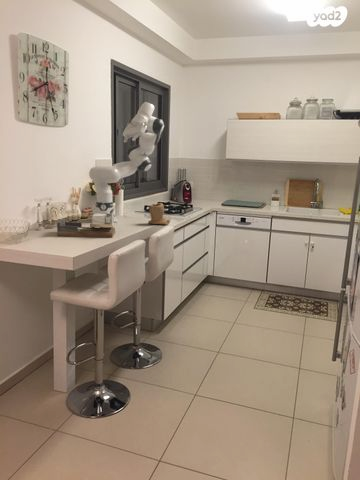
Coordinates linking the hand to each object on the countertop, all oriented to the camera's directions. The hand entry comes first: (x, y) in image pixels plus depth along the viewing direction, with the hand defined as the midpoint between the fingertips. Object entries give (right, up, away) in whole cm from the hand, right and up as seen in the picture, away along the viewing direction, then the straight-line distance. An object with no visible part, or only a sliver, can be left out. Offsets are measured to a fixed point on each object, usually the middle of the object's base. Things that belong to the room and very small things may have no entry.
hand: (128, 141), depth 258 cm
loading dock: (-24, -59, -10) cm, 65 cm away
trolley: (-15, -56, -10) cm, 58 cm away
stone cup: (+17, -52, +34) cm, 64 cm away
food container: (-17, -56, +8) cm, 59 cm away
